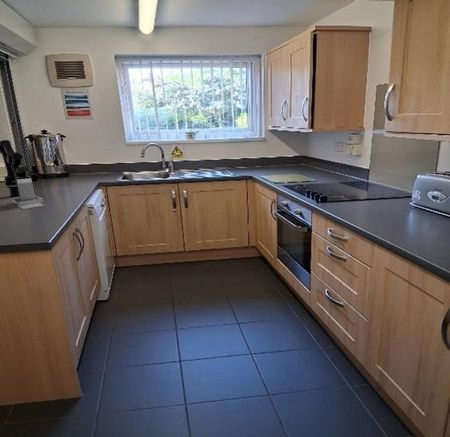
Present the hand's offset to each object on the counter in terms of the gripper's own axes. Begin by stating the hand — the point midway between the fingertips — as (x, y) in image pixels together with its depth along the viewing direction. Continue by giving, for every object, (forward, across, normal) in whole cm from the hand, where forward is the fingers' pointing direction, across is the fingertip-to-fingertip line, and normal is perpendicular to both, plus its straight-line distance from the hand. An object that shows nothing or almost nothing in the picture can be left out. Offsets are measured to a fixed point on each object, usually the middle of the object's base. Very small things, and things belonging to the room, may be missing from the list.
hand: (25, 189), depth 225 cm
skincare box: (+6, 0, +5) cm, 8 cm away
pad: (+16, -2, -3) cm, 16 cm away
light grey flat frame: (+3, 0, +9) cm, 10 cm away
